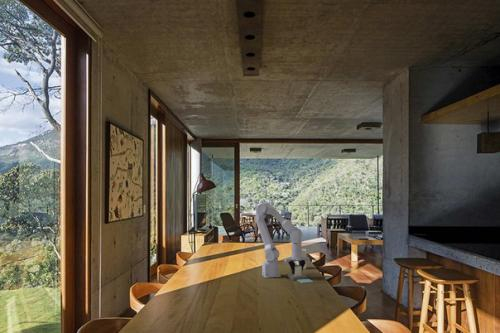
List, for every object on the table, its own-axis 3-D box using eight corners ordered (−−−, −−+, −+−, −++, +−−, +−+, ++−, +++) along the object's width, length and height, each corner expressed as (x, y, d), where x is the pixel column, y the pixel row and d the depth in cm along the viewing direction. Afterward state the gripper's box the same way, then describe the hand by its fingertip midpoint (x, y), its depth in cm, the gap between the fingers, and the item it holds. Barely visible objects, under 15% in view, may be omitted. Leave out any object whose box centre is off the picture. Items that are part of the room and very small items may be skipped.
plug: (295, 279, 225) (295, 266, 226) (292, 277, 229) (292, 264, 229) (301, 278, 226) (301, 265, 227) (298, 277, 230) (298, 264, 231)
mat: (302, 283, 214) (302, 282, 215) (297, 280, 221) (297, 279, 221) (313, 282, 216) (313, 281, 216) (308, 279, 223) (308, 278, 223)
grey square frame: (292, 280, 222) (292, 277, 222) (287, 276, 231) (287, 274, 231) (307, 279, 225) (307, 276, 225) (301, 275, 233) (301, 273, 233)
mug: (307, 267, 257) (306, 249, 258) (306, 269, 251) (306, 250, 251) (291, 267, 259) (291, 248, 260) (290, 269, 253) (290, 250, 253)
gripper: (287, 251, 223) (287, 276, 222) (310, 250, 227) (311, 274, 226) (283, 250, 229) (283, 273, 229) (305, 248, 233) (306, 271, 233)
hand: (297, 273), depth 228 cm, fingers closed on plug, 4 cm apart
